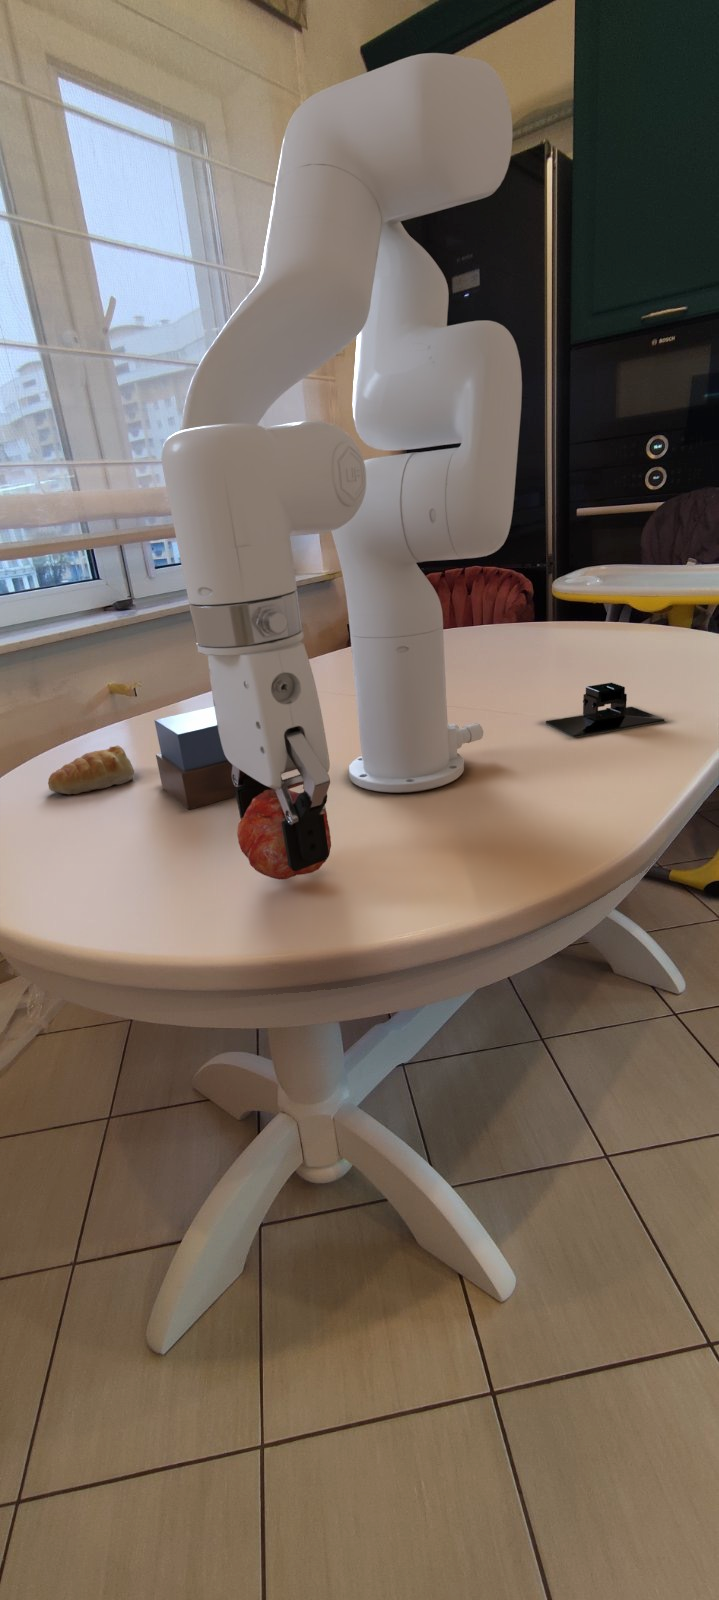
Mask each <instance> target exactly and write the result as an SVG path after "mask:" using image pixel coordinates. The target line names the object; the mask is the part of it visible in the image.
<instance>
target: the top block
mask: <svg viewBox="0 0 719 1600" xmlns="http://www.w3.org/2000/svg"><path fill="white" fill-rule="evenodd" d="M154 725H155V730H156V735H157V741H158V745H159V750H160V753H161V754H162V755H163V756H164V757H166V758H167V759H169V760H170V761H171V762H173V763H174V764H175V765H177V766H178V767H180V768H181V769H182V770H184V771H188V770H192V769H196V768H200V767H204V766H208V765H211V764H215V763H219V762H223V761H227V760H228V759H227V758H226V756H225V754H224V751H223V748H222V744H221V740H220V736H219V731H218V726H217V721H216V715H215V709H214V706H211V707H206V708H201V709H197V710H193V711H189V712H188V711H187V712H184V713H179V714H175V715H170V716H166V717H161V718H157V719H154Z"/></svg>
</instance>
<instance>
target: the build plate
mask: <svg viewBox="0 0 719 1600" xmlns="http://www.w3.org/2000/svg"><path fill="white" fill-rule="evenodd" d="M627 697H628V694H627V693H626V687H625V686H623V685H620V684H618V683H615V682H607V683H600V684H594V685H588V686H585V693H584V694H583V699H582V714H579V715H572V716H566V717H561V718H556V719H555V718H554V719H549V720H545V725H547V726H549V727H551V728H553V729H555V730H557V731H559V732H561V733H563V734H565V735H567V736H569V737H571V738H581V737H586V736H592V735H597V734H598V735H599V734H603V733H610V732H615V731H621V730H627V729H632V728H638V727H643V726H650V725H654V724H660V723H661V724H662V723H665V722H666V721H665V719H666V718H663V717H661V716H658V715H655V714H653V713H650V712H648V711H644V710H642V709H639V708H637V707H633V706H627V702H628V698H627ZM605 705H610V707H606V706H605ZM601 707H602V708H603V707H606V708H605V709H600V710H599V708H601Z"/></svg>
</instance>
